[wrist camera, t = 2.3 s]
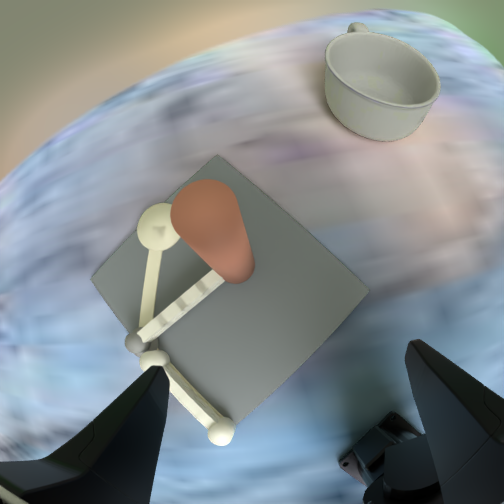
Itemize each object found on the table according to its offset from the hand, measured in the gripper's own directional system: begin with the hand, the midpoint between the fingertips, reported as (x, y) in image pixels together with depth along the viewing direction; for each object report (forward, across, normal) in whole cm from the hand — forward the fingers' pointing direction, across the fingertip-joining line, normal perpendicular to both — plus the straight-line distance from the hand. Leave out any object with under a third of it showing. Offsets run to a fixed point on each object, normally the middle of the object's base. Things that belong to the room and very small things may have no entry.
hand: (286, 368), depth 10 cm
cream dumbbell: (+7, +8, +11) cm, 15 cm away
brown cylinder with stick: (+12, +7, +5) cm, 14 cm away
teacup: (+26, -12, -9) cm, 29 cm away
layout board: (+13, +5, +4) cm, 15 cm away
